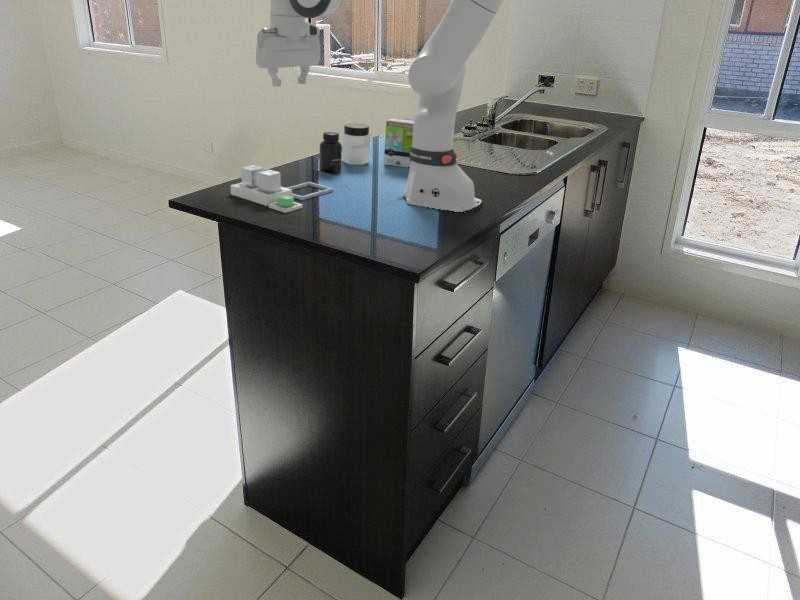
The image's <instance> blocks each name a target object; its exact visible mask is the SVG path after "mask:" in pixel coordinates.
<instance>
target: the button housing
mask: <svg viewBox="0 0 800 600" xmlns="http://www.w3.org/2000/svg"><path fill="white" fill-rule="evenodd" d="M303 207H304V206H303V204H302V203H299V202H295V201H294V206H292V207H289V208H283V207H280V206H278V202H275V203H271V204H269V205H268V208H269V209H273V210H275V211H278V212H282V213H285V214H286V213H290V212H294V211H296V210H301V209H303Z"/></svg>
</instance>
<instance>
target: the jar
mask: <svg viewBox="0 0 800 600" xmlns="http://www.w3.org/2000/svg"><path fill="white" fill-rule="evenodd" d="M343 129H344V130H343V133H342V157H341V162H343V163H346V164H348V165H351V166H352V165H354V166H356V165H357V166H364V165H365V164H369V163H370V148H371V147H370V144H371V134H370V126H369V125H368V124H365V123H357V122H356V123H354V122H352V123H351V122H350V123H346V124H344V127H343Z"/></svg>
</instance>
